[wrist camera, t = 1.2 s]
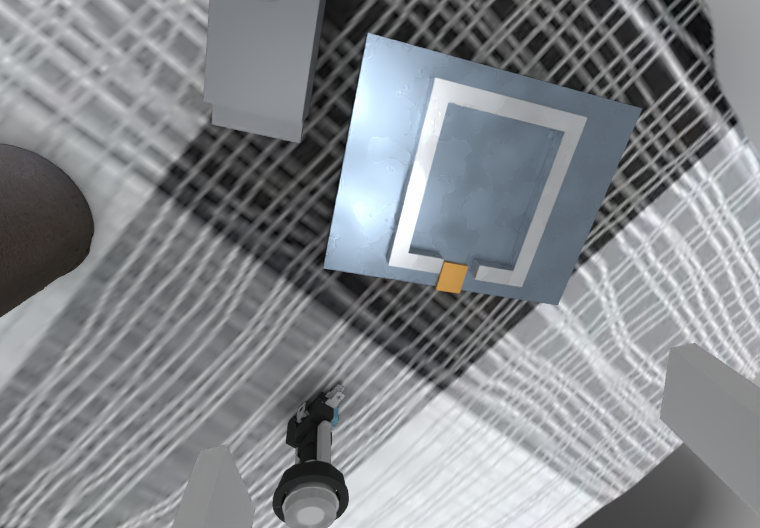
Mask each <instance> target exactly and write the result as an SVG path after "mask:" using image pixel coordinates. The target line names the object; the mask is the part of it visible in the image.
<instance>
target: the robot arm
mask: <svg viewBox="0 0 760 528" xmlns="http://www.w3.org/2000/svg"><path fill="white" fill-rule="evenodd" d="M660 419H661V420H662V421H663V422H664V423H665V424H666V425H667V426H668V427H669V428H670V429H671V430H672V431H673V432H674V433H675V434H676V435H677V436H678V437H679V438H680V439H681V440H682V441H683V442H684V443H685V444H686V445H687V446H688V447H689V448H690V449H691V450H692V451H693V452H694V453H695V454H696V455H697V456H698V457H699V458H700V459H701V460H703V462H704V463H705V464H706V465H707V466H708V467H709V468H711V469H712V471H713V472H714V473H716V474H717V475H718V476H719V477H720V478H721V479H722V480H723V481H724V482H725V483H726V484H727V485H728V486H729V487H730V488H731V489H732V490H733V491H734V492H735V493H736V494H737V495H738V496H739V497H740V498H741V499H742V500H743V501H744V502H745V503H746V504H747V505H748V506H749V507H750V508H751V509H752V510H753V511H754V512H755V513H756V514H757V515H758V516H759V517H760V388H759V387H758V386H756V385H755V384H754V383H752V382H751V381H749V380H748V379H746V378H745V377H743V376H742V375H741V374H739V373H738V372H736V371H735V370H733V369H732V368H730V367H729V366H727V365H726V364H725V363H723V362H722V361H720V360H719V359H717V358H716V357H714V356H713V355H712V354H710V353H709V352H707V351H706V350H704V349H703V348H701V347H700V346H698V345H697V344H696V343H692V344H687V345H683V346H678V347H674V348H670V352H669V358H668V365H667V372H666V379H665V386H664V393H663V400H662V407H661V414H660ZM254 512H255V507H254V505H253V503H252V501H251V498H250V496H249V494H248V492H247V489H246V487H245V485H244V483H243V480H242V478H241V476H240V473H239V471H238V469H237V467H236V464H235V462H234V460H233V458H232V455H231V453H230V451H229V448H228V446H227V445H222V446H218V447H213V448H208V449H204V450H200V451H199V454H198V456H197V459H196V462H195V465H194V468H193V470H192V473H191V476H190V479H189V481H188V484H187V487H186V490H185V493H184V495H183V498H182V501H181V504H180V506H179V509H178V512H177V515H176V518H175V520H174V523H173V526H172V528H252V524H253V518H254Z"/></svg>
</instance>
